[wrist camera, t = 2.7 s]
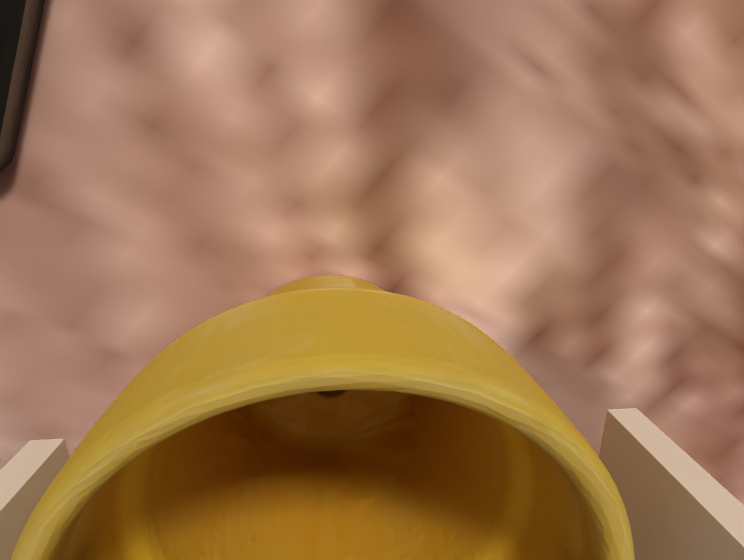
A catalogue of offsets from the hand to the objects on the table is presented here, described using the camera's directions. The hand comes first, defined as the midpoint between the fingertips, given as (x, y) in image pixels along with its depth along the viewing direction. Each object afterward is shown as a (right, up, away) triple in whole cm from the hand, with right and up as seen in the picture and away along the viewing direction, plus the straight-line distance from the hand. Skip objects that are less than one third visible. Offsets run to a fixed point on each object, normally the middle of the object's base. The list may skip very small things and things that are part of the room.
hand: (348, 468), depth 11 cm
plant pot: (-1, +2, +6) cm, 6 cm away
